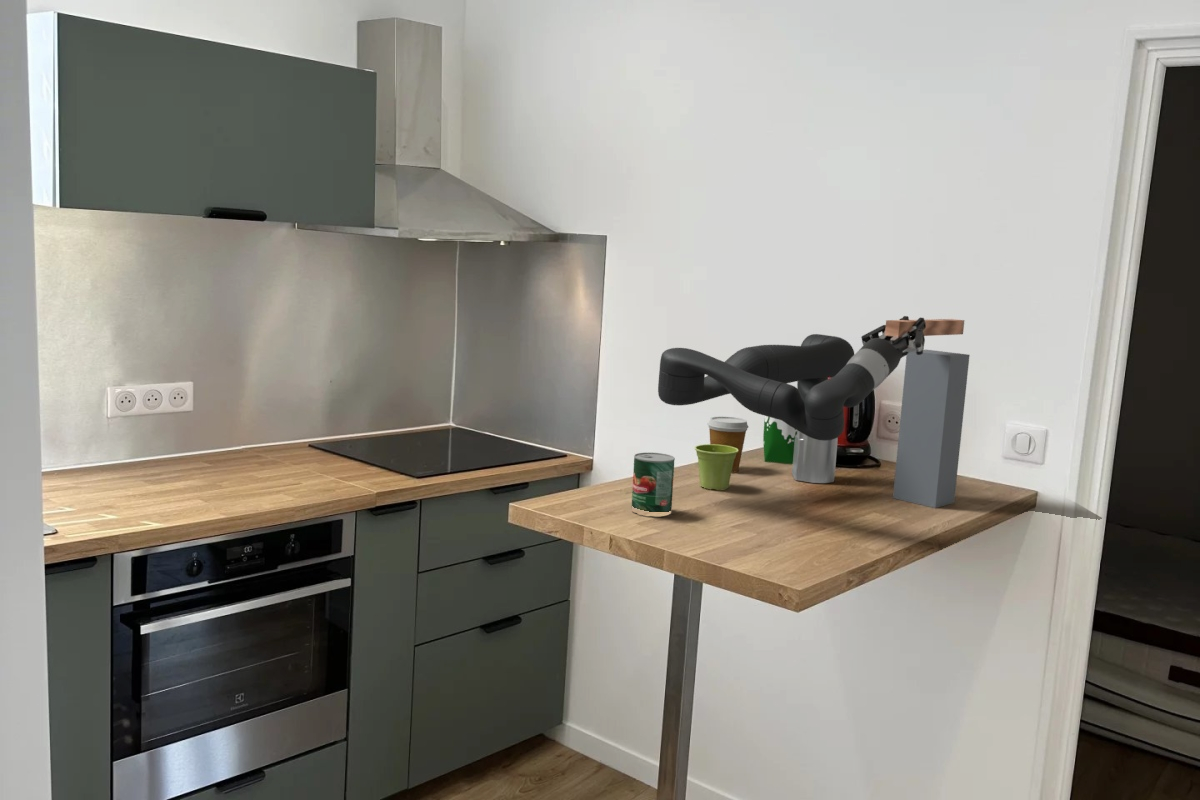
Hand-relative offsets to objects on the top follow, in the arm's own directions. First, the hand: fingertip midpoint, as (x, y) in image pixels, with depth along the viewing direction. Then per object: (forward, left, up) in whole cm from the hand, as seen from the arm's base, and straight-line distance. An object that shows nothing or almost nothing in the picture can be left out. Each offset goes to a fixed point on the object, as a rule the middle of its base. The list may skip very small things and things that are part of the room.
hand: (914, 320), depth 210 cm
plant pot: (-37, +9, -39) cm, 55 cm away
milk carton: (-18, +43, -39) cm, 61 cm away
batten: (+3, +3, -3) cm, 5 cm away
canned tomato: (-51, -15, -39) cm, 66 cm away
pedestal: (+8, +8, -39) cm, 40 cm away
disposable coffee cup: (-33, +28, -39) cm, 58 cm away
